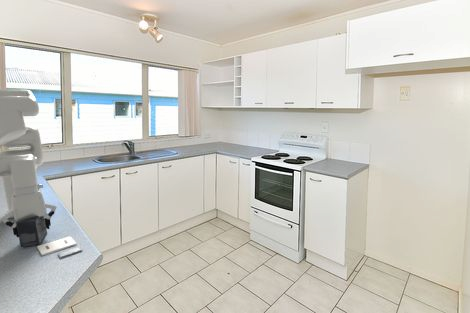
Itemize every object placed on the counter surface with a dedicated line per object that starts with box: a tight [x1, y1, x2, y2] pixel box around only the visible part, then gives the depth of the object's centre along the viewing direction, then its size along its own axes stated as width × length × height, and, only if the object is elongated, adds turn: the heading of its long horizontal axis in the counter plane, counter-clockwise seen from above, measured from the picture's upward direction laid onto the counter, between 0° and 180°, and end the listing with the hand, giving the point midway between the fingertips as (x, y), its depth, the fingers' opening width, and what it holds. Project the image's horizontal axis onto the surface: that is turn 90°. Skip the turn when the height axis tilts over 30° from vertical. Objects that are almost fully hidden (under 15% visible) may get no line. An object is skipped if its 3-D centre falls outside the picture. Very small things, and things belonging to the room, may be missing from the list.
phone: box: [57, 246, 83, 260], centre depth 99 cm, size 4×7×1 cm, turn 136°
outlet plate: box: [36, 236, 77, 256], centre depth 104 cm, size 8×11×1 cm
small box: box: [16, 216, 48, 249], centre depth 107 cm, size 11×6×10 cm, turn 21°
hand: (33, 232), depth 107 cm, fingers open, 9 cm apart
